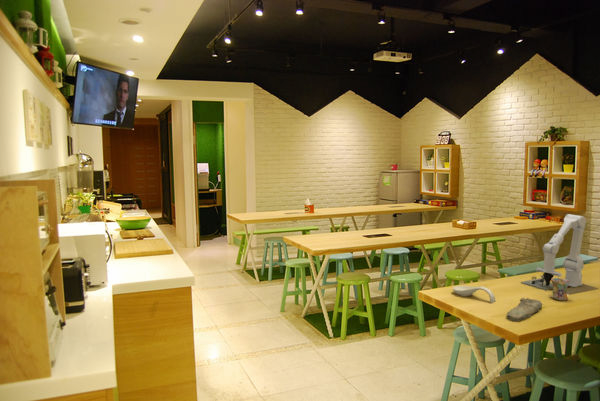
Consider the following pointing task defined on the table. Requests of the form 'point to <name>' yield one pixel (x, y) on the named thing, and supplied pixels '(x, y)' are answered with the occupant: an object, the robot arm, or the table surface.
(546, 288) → the mat
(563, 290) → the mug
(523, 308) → the elongated rock
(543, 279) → the base
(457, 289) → the spoon rest
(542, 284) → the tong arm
